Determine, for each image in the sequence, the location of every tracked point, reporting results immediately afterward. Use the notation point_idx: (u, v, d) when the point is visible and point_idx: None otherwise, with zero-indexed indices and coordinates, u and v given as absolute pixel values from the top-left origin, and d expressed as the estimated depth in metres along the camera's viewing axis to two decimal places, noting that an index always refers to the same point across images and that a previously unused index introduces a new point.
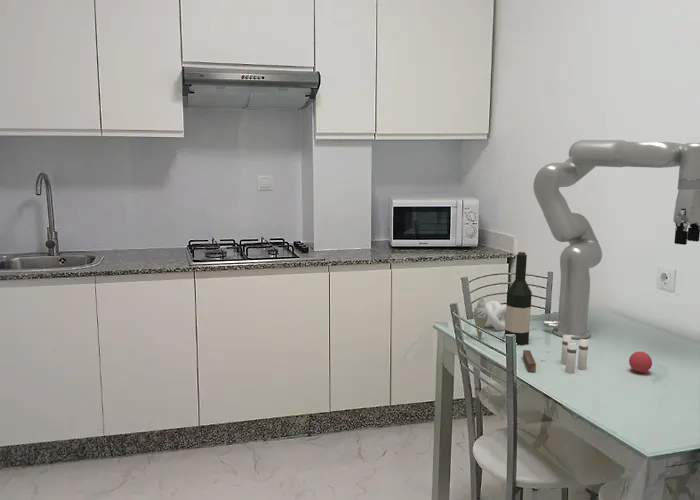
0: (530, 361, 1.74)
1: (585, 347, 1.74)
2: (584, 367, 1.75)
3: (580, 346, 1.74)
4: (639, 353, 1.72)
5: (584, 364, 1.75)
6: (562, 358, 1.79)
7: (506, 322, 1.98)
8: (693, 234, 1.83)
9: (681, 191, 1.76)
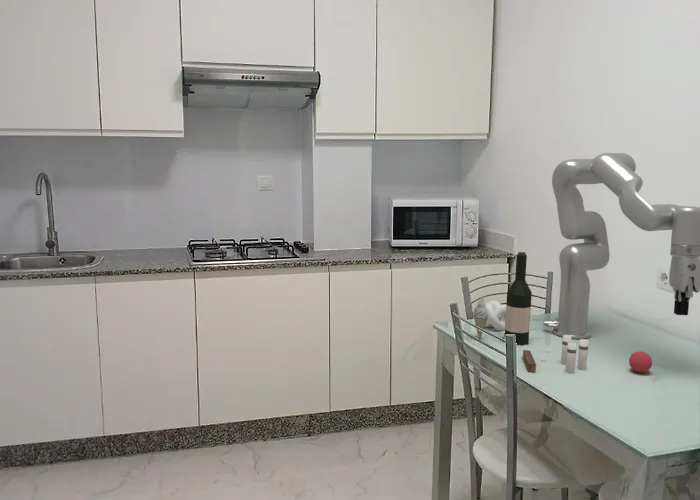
0: (530, 361, 1.74)
1: (585, 347, 1.74)
2: (584, 367, 1.75)
3: (580, 346, 1.74)
4: (639, 353, 1.72)
5: (584, 364, 1.75)
6: (562, 358, 1.79)
7: (506, 322, 1.98)
8: None
9: None
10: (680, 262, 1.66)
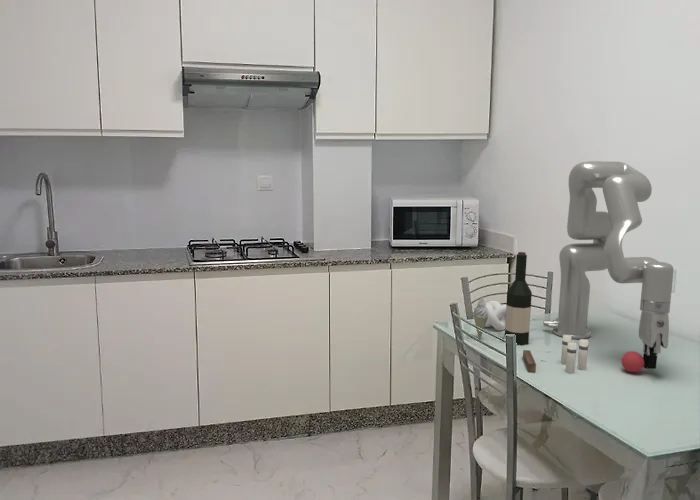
0: (530, 361, 1.74)
1: (585, 347, 1.74)
2: (584, 367, 1.75)
3: (580, 346, 1.74)
4: (626, 356, 1.72)
5: (584, 364, 1.75)
6: (562, 358, 1.79)
7: (506, 322, 1.98)
8: None
9: None
10: (649, 318, 1.68)
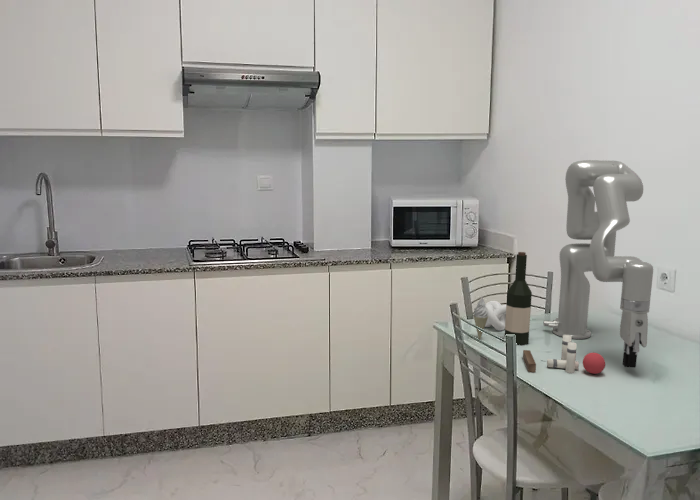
0: (530, 361, 1.74)
1: (554, 367, 1.75)
2: (575, 368, 1.74)
3: None
4: None
5: None
6: (562, 358, 1.79)
7: (506, 322, 1.98)
8: None
9: None
10: (628, 317, 1.69)
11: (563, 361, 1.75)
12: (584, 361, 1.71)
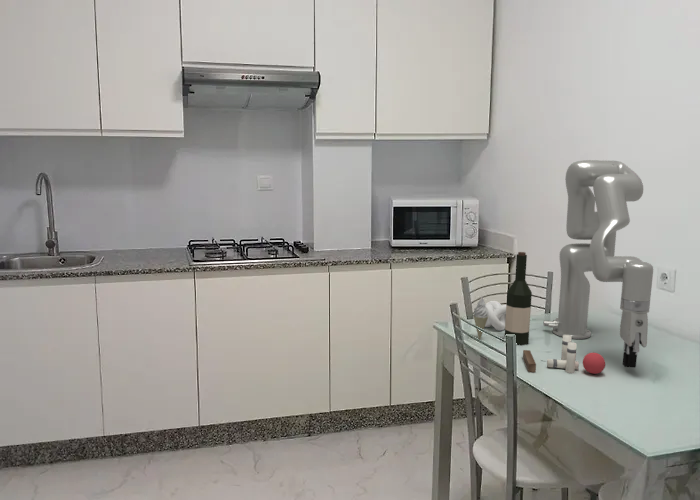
0: (530, 361, 1.74)
1: (554, 367, 1.75)
2: (575, 368, 1.74)
3: None
4: None
5: None
6: (562, 358, 1.79)
7: (506, 322, 1.98)
8: None
9: None
10: (628, 317, 1.69)
11: (563, 361, 1.75)
12: (584, 361, 1.71)
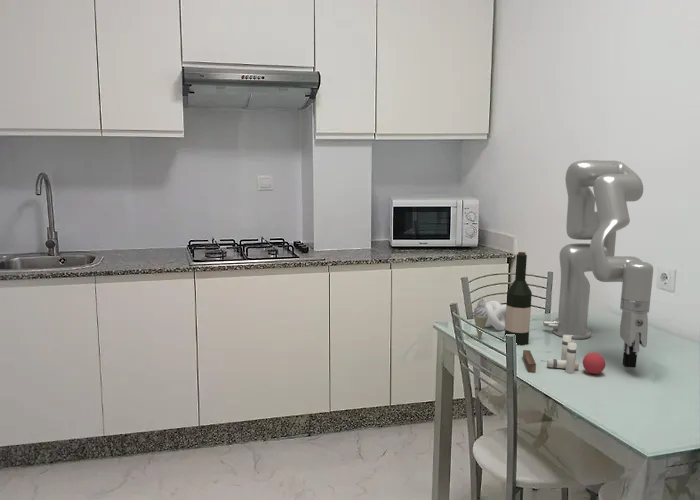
0: (530, 361, 1.74)
1: (554, 367, 1.75)
2: (575, 368, 1.74)
3: None
4: None
5: None
6: (562, 358, 1.79)
7: (506, 322, 1.98)
8: None
9: None
10: (628, 317, 1.69)
11: (563, 361, 1.75)
12: (584, 361, 1.71)
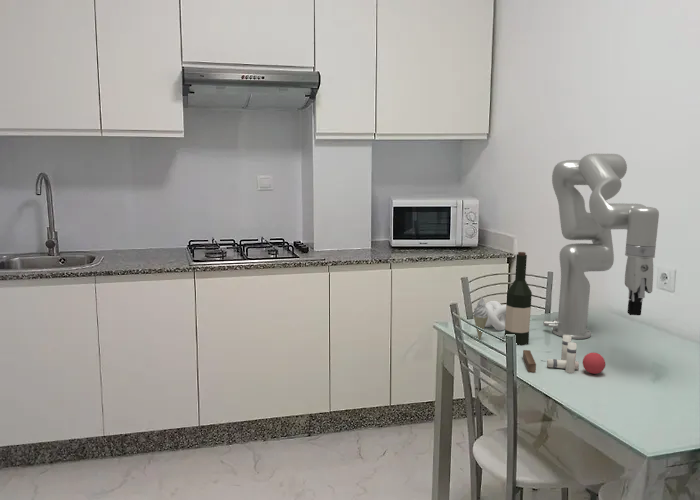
0: (530, 361, 1.74)
1: (554, 367, 1.75)
2: (575, 368, 1.74)
3: None
4: None
5: None
6: (562, 358, 1.79)
7: (506, 322, 1.98)
8: None
9: None
10: (633, 262, 1.66)
11: (563, 361, 1.75)
12: (584, 361, 1.71)
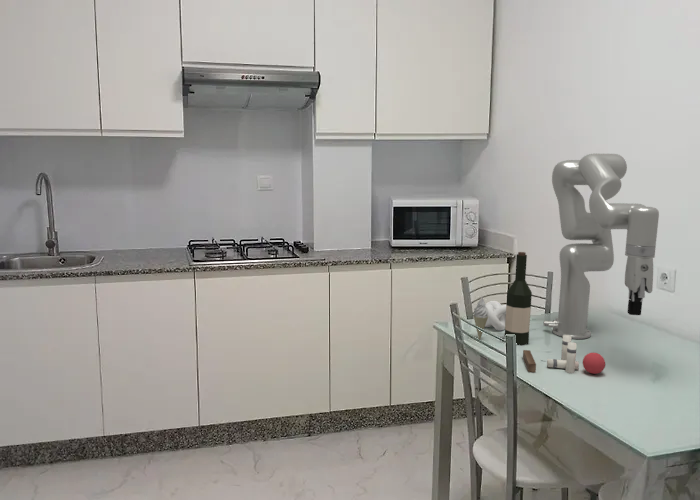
0: (530, 361, 1.74)
1: (554, 367, 1.75)
2: (575, 368, 1.74)
3: None
4: None
5: None
6: (562, 358, 1.79)
7: (506, 322, 1.98)
8: None
9: None
10: (633, 262, 1.66)
11: (563, 361, 1.75)
12: (584, 361, 1.71)
